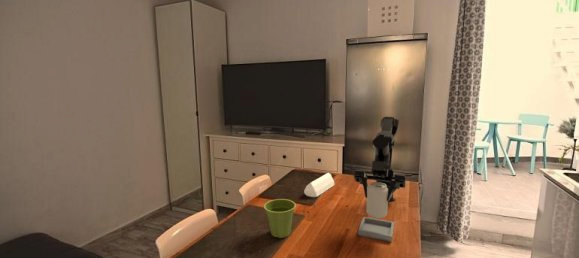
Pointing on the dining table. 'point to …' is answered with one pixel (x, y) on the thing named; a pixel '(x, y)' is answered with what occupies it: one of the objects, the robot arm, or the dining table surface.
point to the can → (377, 200)
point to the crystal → (319, 185)
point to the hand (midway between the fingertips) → (376, 199)
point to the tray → (376, 229)
